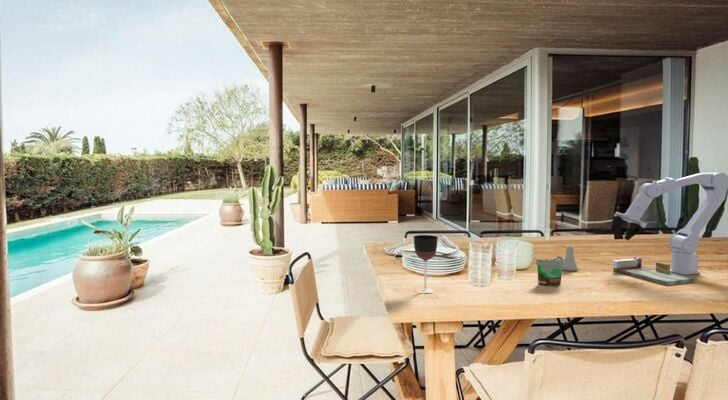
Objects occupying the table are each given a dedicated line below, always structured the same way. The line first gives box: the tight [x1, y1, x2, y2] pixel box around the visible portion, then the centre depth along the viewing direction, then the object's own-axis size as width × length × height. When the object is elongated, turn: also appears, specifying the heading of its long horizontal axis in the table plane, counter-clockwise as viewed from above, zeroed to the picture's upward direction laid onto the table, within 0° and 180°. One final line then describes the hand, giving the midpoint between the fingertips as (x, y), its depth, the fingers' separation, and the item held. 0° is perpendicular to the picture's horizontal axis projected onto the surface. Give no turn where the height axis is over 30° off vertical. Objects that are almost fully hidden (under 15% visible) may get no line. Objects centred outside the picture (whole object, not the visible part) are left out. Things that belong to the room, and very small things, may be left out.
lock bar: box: [612, 257, 643, 269], centre depth 191 cm, size 14×3×4 cm, turn 108°
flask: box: [562, 245, 579, 272], centre depth 195 cm, size 7×7×10 cm
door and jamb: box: [613, 261, 694, 286], centre depth 182 cm, size 14×24×5 cm, turn 18°
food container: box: [535, 255, 565, 287], centre depth 171 cm, size 12×6×10 cm, turn 117°
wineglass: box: [413, 234, 439, 292], centre depth 163 cm, size 8×9×20 cm
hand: (618, 236), depth 190 cm, fingers open, 7 cm apart
